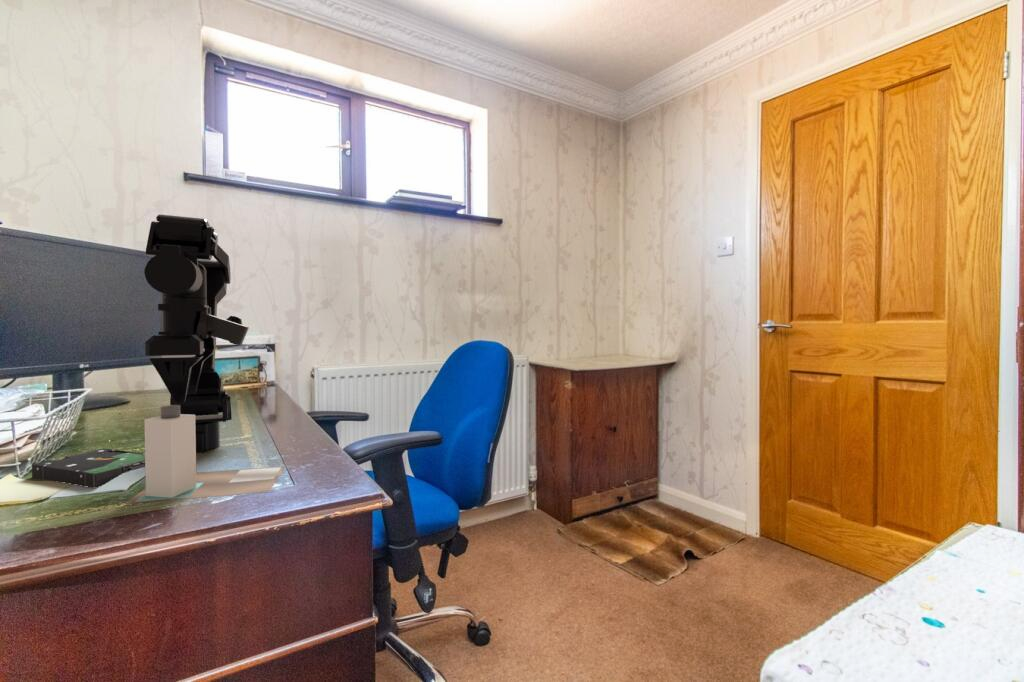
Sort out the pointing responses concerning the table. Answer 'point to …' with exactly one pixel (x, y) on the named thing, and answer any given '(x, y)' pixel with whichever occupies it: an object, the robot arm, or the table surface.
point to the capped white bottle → (170, 453)
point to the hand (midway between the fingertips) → (186, 398)
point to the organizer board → (223, 484)
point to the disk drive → (89, 467)
